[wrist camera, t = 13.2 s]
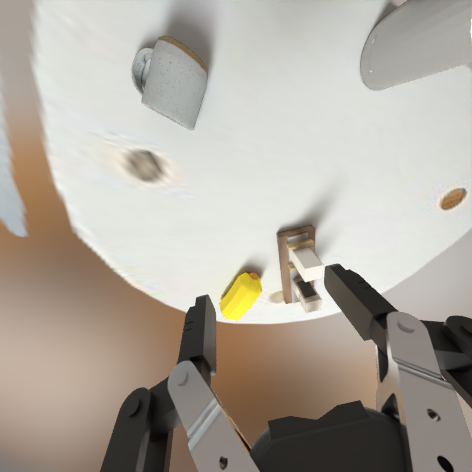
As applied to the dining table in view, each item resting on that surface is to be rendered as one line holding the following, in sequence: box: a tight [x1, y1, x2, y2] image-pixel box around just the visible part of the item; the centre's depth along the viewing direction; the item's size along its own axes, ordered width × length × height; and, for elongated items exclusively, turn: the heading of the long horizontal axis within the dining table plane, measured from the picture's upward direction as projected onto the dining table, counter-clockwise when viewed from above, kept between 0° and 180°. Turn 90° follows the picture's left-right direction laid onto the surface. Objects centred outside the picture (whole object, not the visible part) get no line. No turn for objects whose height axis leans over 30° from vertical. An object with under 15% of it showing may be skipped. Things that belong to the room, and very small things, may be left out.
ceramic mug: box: [132, 36, 207, 130], centre depth 23 cm, size 11×8×8 cm
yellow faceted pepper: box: [220, 272, 262, 321], centre depth 49 cm, size 18×7×8 cm
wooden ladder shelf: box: [277, 225, 322, 313], centre depth 44 cm, size 9×26×11 cm, turn 12°
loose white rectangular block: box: [290, 246, 324, 282], centre depth 40 cm, size 4×4×8 cm
